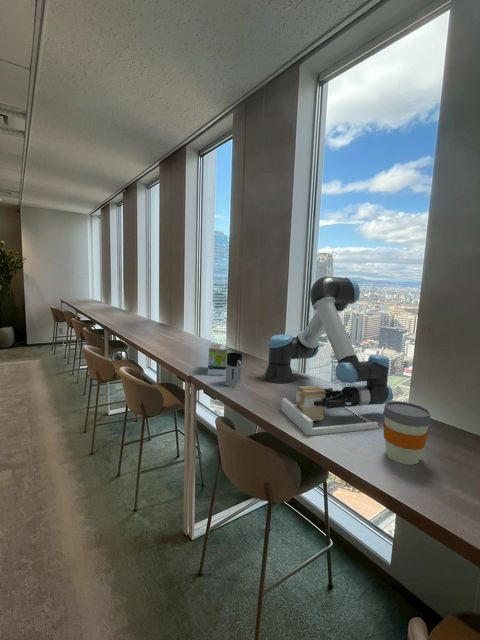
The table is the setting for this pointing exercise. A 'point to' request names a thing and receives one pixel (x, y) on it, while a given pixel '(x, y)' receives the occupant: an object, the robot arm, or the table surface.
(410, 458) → the reusable coffee cup
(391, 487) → the table surface
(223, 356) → the tea box
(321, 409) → the tan cardboard box
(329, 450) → the table surface
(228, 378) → the glass holder
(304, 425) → the bay
